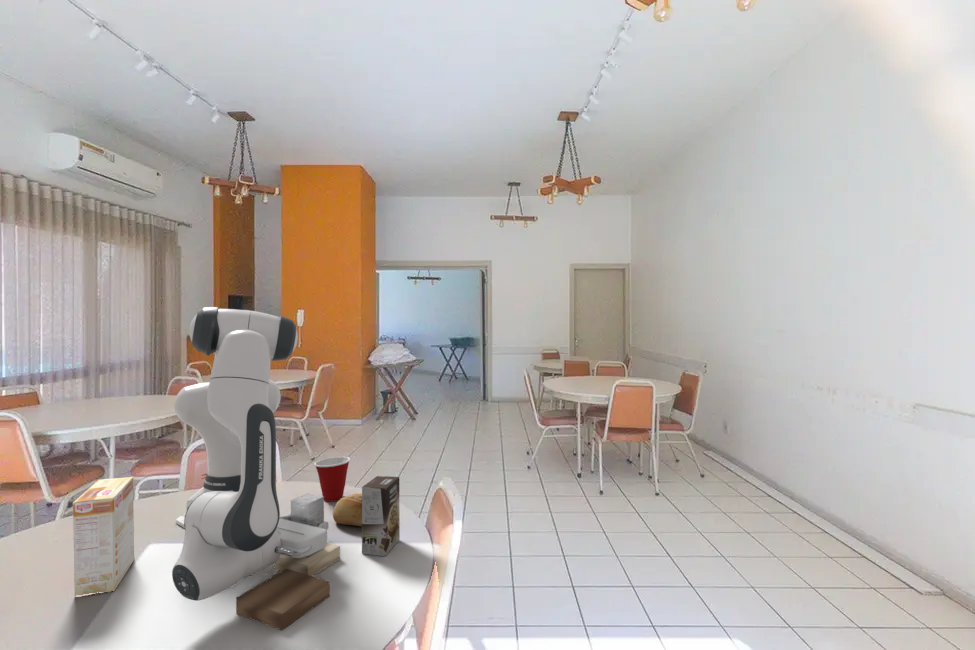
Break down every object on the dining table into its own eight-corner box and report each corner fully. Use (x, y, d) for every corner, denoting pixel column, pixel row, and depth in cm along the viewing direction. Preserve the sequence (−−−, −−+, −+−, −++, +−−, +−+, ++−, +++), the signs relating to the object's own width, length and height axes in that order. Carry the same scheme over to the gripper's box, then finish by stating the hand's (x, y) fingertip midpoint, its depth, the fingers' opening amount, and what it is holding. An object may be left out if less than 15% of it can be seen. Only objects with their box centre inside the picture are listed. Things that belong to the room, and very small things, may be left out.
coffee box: (386, 556, 116) (386, 488, 116) (360, 554, 118) (360, 486, 117) (400, 539, 125) (400, 476, 125) (377, 537, 127) (376, 474, 126)
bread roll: (373, 535, 128) (373, 504, 128) (323, 528, 132) (323, 498, 132) (391, 520, 137) (391, 492, 137) (344, 514, 142) (344, 486, 141)
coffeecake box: (98, 564, 113) (97, 479, 113) (136, 558, 116) (135, 475, 115) (72, 599, 99) (70, 502, 99) (115, 591, 102) (114, 497, 101)
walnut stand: (236, 613, 94) (236, 597, 94) (286, 582, 105) (286, 568, 105) (282, 630, 89) (282, 613, 89) (329, 596, 100) (329, 581, 100)
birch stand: (274, 569, 111) (274, 555, 111) (307, 550, 120) (307, 537, 120) (307, 579, 106) (307, 565, 106) (340, 558, 115) (340, 545, 115)
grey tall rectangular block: (291, 553, 112) (290, 500, 112) (307, 544, 116) (307, 493, 116) (307, 557, 110) (307, 503, 110) (324, 548, 114) (323, 496, 114)
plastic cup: (331, 490, 161) (330, 453, 161) (357, 495, 157) (357, 457, 157) (306, 501, 151) (306, 462, 151) (334, 507, 147) (333, 466, 147)
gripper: (297, 540, 97) (345, 515, 109) (225, 522, 105) (278, 500, 118) (297, 572, 97) (345, 543, 109) (226, 551, 106) (278, 526, 118)
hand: (310, 520), depth 114 cm, fingers open, 8 cm apart
